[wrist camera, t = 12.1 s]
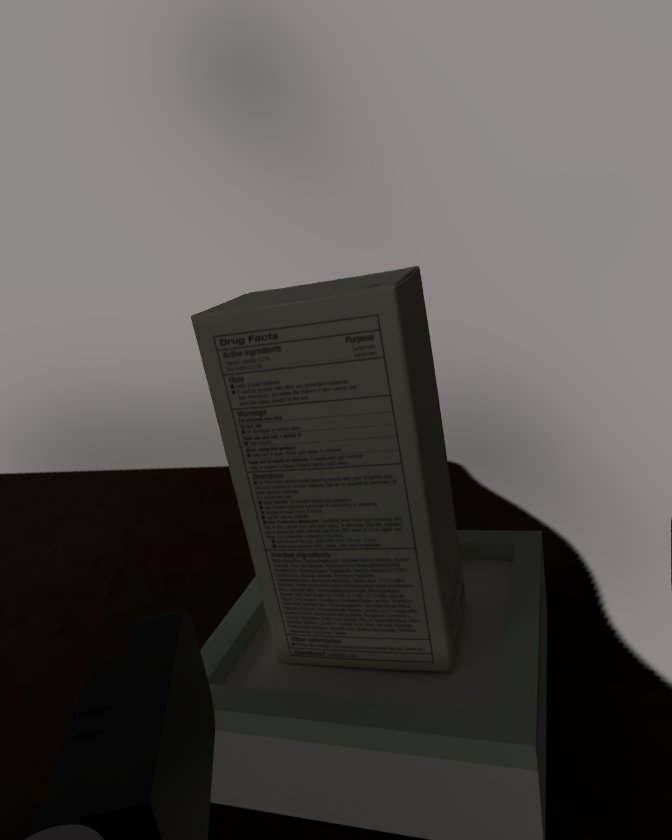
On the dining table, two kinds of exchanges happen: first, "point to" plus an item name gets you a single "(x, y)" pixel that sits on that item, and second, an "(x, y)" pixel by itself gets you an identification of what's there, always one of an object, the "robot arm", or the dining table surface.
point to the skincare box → (340, 468)
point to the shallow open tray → (396, 716)
